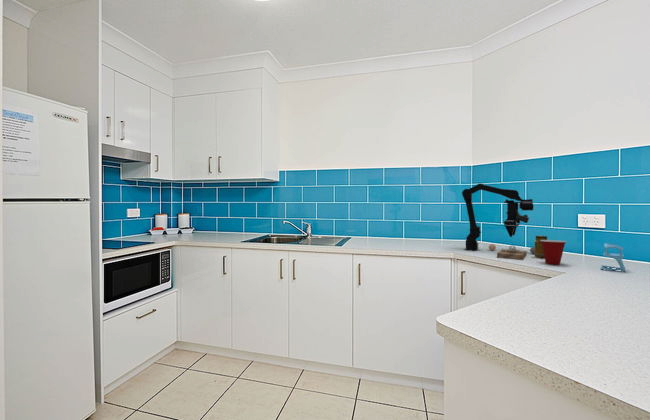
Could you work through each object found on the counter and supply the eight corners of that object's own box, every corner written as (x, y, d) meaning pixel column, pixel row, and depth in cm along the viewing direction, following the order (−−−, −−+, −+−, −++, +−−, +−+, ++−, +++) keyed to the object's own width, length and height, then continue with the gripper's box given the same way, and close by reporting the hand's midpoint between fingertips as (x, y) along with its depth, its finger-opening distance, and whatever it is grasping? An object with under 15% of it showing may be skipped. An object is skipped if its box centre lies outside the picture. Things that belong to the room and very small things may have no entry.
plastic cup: (563, 262, 156) (563, 238, 155) (569, 266, 146) (569, 241, 145) (537, 260, 160) (537, 238, 160) (541, 264, 151) (541, 240, 150)
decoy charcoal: (529, 254, 179) (529, 247, 179) (530, 253, 182) (530, 246, 182) (537, 254, 177) (537, 247, 176) (538, 253, 180) (538, 246, 180)
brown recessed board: (497, 257, 170) (497, 253, 170) (502, 253, 183) (502, 249, 183) (522, 259, 163) (522, 255, 163) (526, 255, 175) (526, 251, 175)
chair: (626, 273, 133) (627, 245, 132) (600, 270, 138) (601, 243, 138) (625, 269, 138) (626, 243, 138) (600, 267, 144) (601, 241, 143)
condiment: (536, 255, 173) (536, 234, 173) (554, 258, 167) (554, 236, 166) (531, 257, 169) (531, 236, 168) (550, 259, 162) (550, 237, 162)
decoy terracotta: (488, 250, 193) (488, 244, 193) (489, 249, 196) (489, 243, 196) (495, 251, 191) (495, 244, 190) (496, 250, 194) (496, 243, 194)
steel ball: (508, 252, 186) (508, 245, 186) (509, 251, 189) (509, 244, 189) (515, 252, 184) (515, 246, 183) (516, 251, 187) (516, 245, 187)
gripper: (526, 211, 173) (526, 238, 174) (530, 210, 188) (529, 235, 188) (503, 211, 180) (503, 237, 181) (509, 209, 195) (509, 234, 195)
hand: (512, 236), depth 186 cm, fingers open, 9 cm apart
